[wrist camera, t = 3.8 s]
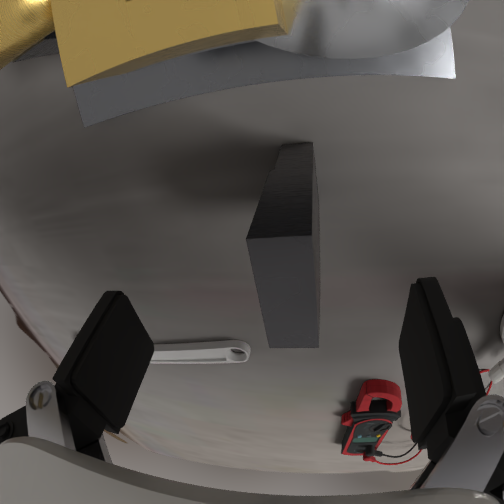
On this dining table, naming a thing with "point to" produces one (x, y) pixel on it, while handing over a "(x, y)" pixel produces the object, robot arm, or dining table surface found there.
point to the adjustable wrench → (201, 352)
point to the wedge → (288, 250)
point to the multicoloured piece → (222, 44)
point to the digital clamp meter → (373, 419)
